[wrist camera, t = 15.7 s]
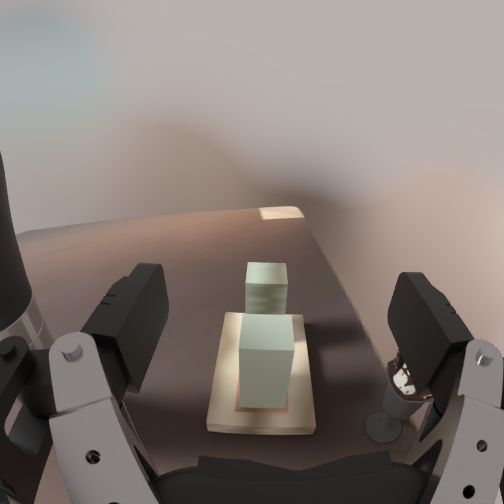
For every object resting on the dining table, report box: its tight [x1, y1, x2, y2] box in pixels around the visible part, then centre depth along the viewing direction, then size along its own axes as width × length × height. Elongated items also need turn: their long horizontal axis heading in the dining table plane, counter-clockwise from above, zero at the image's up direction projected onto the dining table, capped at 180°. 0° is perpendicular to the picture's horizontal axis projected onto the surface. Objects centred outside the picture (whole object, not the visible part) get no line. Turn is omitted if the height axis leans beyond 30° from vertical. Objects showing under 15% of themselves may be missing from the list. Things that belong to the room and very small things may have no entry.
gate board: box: [206, 262, 316, 435], centre depth 35 cm, size 12×20×12 cm, turn 177°
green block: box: [239, 314, 295, 408], centre depth 30 cm, size 5×5×10 cm
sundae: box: [365, 349, 433, 443], centre depth 25 cm, size 7×7×15 cm
